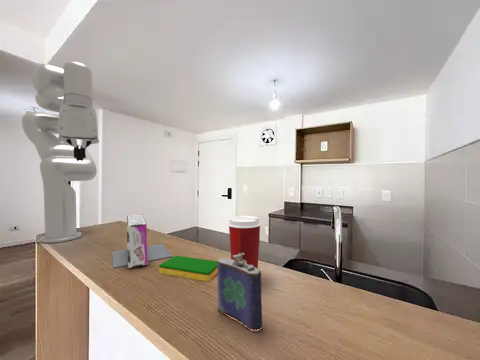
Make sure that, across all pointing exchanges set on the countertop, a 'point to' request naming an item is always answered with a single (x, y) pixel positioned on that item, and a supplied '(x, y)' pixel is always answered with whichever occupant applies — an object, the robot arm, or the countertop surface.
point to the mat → (153, 254)
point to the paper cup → (245, 238)
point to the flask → (240, 291)
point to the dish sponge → (189, 268)
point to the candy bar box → (137, 241)
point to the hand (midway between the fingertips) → (79, 160)
